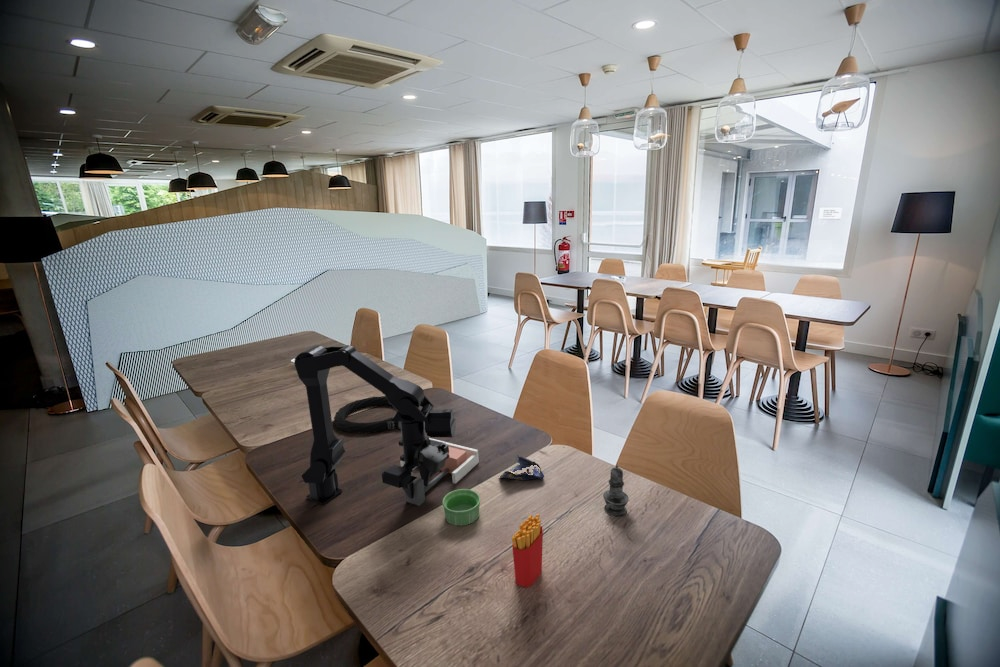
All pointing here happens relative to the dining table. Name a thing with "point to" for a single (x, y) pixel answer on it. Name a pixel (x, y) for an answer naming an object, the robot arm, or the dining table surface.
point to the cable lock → (364, 427)
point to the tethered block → (450, 465)
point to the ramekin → (461, 506)
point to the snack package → (523, 464)
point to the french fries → (528, 551)
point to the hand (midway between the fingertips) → (418, 491)
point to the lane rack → (466, 466)
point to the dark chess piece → (616, 494)
